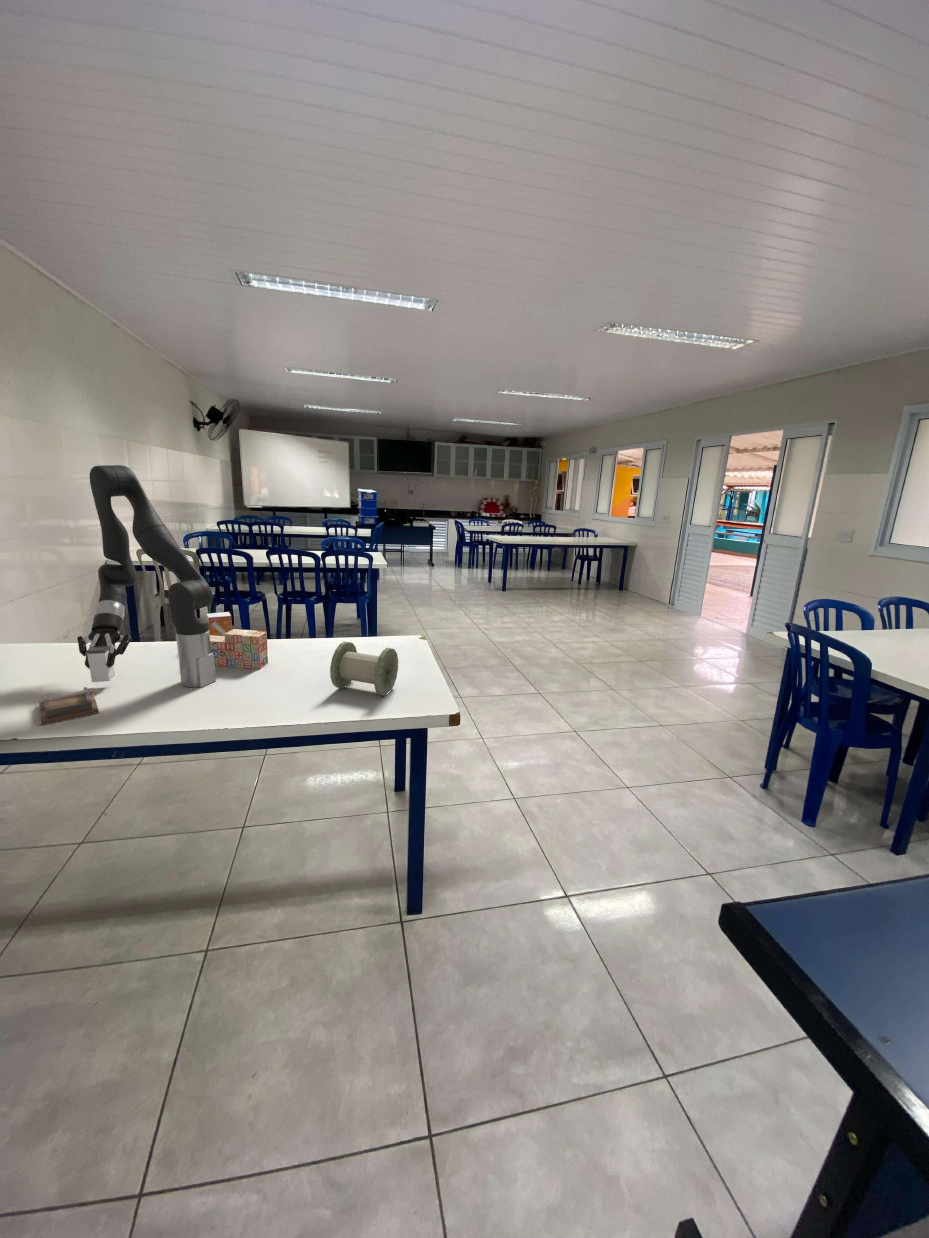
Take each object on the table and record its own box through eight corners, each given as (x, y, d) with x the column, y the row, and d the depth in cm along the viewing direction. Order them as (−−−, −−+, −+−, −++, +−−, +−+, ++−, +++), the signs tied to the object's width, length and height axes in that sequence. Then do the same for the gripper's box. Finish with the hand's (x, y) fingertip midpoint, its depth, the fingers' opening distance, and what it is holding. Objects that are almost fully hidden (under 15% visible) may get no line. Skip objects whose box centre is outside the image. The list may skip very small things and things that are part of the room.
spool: (397, 685, 162) (398, 643, 159) (378, 703, 148) (378, 657, 145) (353, 677, 167) (353, 636, 163) (330, 694, 153) (329, 649, 149)
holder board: (98, 713, 133) (97, 702, 132) (41, 725, 125) (39, 714, 124) (93, 695, 143) (91, 685, 142) (40, 705, 135) (37, 695, 134)
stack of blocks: (201, 665, 170) (198, 631, 167) (211, 659, 176) (208, 626, 173) (260, 669, 169) (258, 636, 166) (268, 663, 175) (266, 631, 172)
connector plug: (115, 675, 150) (110, 645, 148) (109, 681, 146) (104, 650, 144) (98, 676, 149) (93, 646, 146) (92, 682, 145) (86, 650, 142)
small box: (210, 650, 185) (207, 617, 181) (208, 645, 190) (205, 613, 186) (233, 647, 189) (231, 615, 186) (231, 642, 194) (228, 611, 191)
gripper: (77, 612, 147) (64, 663, 139) (130, 611, 151) (121, 660, 143) (87, 624, 154) (76, 673, 146) (138, 622, 158) (130, 670, 150)
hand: (98, 666), depth 145 cm, fingers closed on connector plug, 4 cm apart
